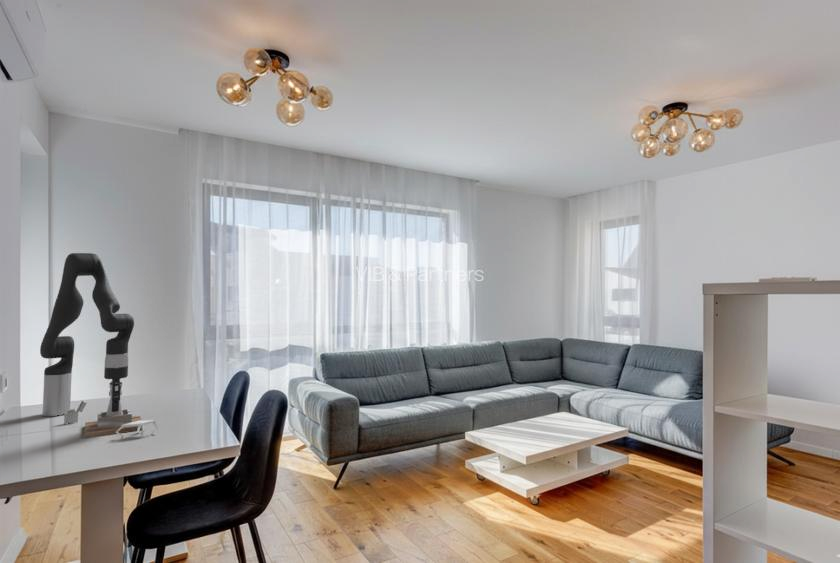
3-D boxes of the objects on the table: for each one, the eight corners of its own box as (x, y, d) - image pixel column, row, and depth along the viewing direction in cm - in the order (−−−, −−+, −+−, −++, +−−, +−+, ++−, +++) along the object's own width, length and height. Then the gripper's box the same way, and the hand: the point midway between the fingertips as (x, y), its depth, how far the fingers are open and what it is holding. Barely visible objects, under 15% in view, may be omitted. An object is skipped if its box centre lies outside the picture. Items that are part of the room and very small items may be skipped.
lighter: (65, 424, 174) (66, 404, 175) (63, 423, 175) (64, 403, 176) (86, 420, 181) (87, 400, 181) (84, 419, 181) (85, 400, 182)
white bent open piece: (148, 430, 167) (149, 417, 168) (158, 434, 162) (159, 420, 163) (112, 438, 158) (112, 424, 158) (121, 442, 153) (122, 427, 153)
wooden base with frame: (84, 426, 172) (85, 412, 172) (139, 419, 182) (140, 405, 183) (84, 437, 157) (85, 422, 158) (144, 429, 168) (144, 414, 168)
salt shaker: (107, 426, 166) (109, 391, 167) (102, 424, 170) (104, 389, 170) (125, 423, 171) (127, 389, 171) (120, 420, 174) (121, 387, 175)
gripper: (104, 364, 175) (102, 408, 174) (105, 368, 163) (103, 415, 162) (126, 362, 179) (125, 405, 178) (129, 366, 168) (127, 412, 167)
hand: (114, 409), depth 170 cm, fingers open, 4 cm apart
